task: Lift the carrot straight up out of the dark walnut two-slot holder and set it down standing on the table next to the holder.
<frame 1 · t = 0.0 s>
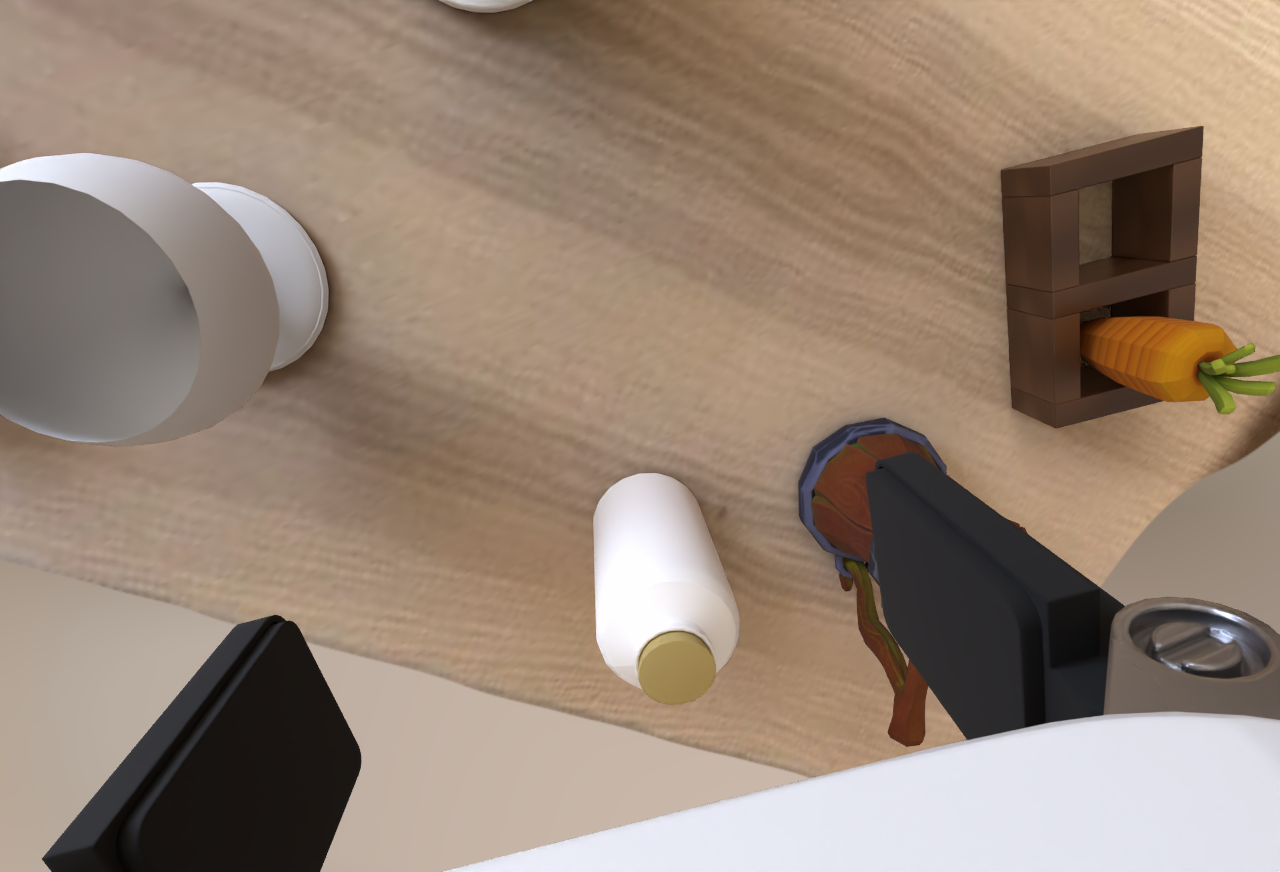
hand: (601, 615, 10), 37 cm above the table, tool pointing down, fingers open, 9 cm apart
carrot: (1070, 332, 49), resting in holder
mug: (853, 521, 53), on the table
white bottle: (646, 516, 51), on the table
holder: (1071, 279, 47), on the table
chalice: (235, 281, 43), on the table
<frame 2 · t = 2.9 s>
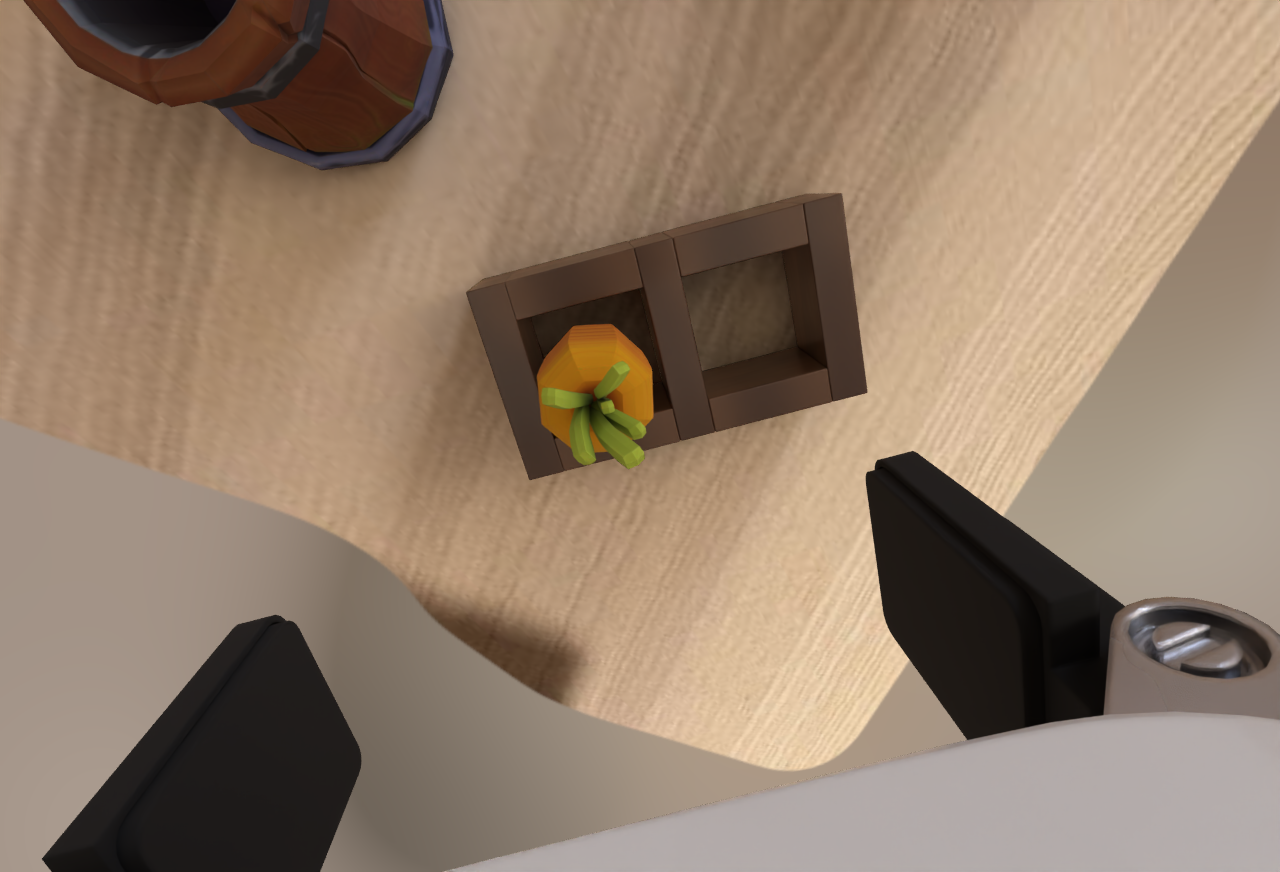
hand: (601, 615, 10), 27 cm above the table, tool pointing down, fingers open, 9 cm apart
carrot: (594, 343, 36), resting in holder
mug: (255, 26, 30), on the table
holder: (665, 325, 36), on the table
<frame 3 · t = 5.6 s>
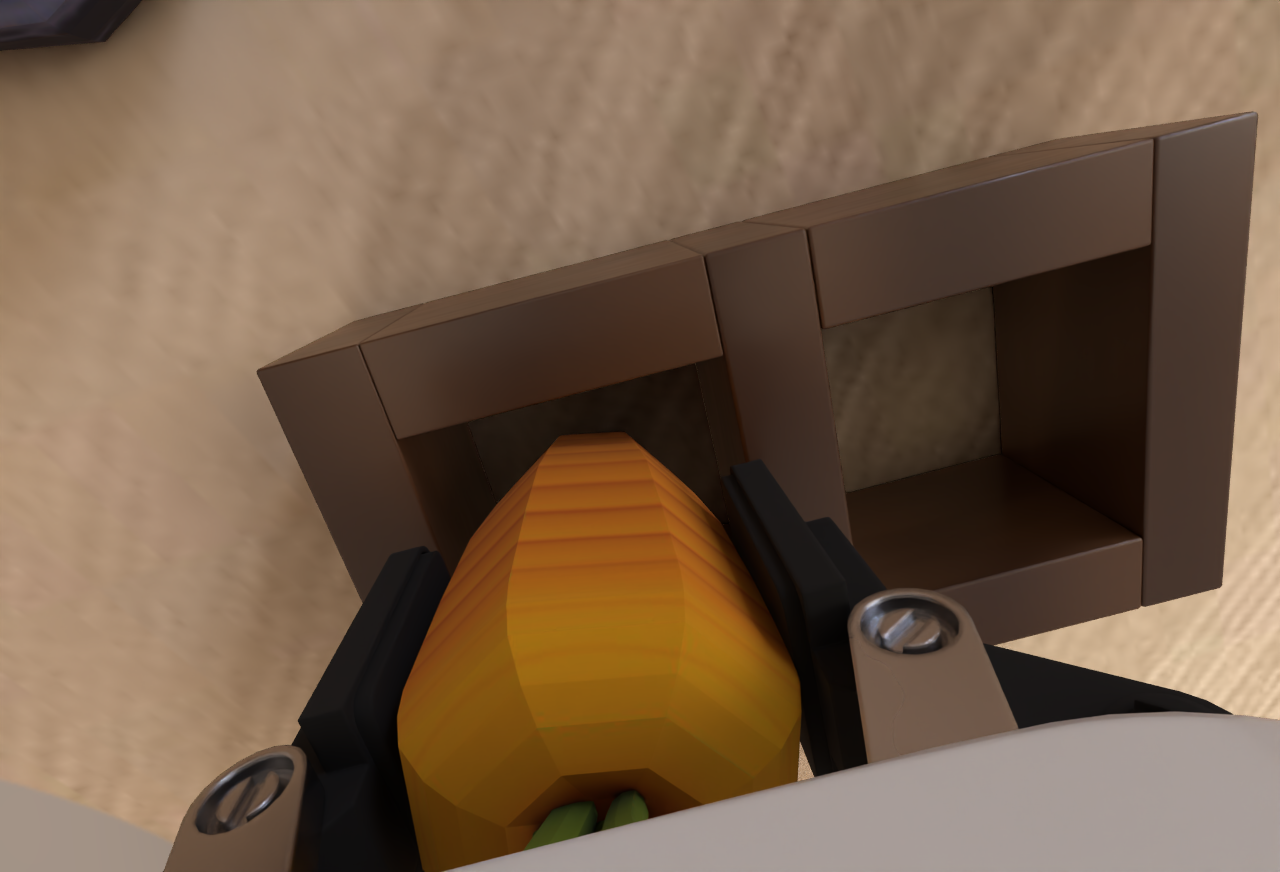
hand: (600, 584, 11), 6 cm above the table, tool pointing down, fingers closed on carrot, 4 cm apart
carrot: (594, 450, 18), resting in holder, touching gripper
holder: (741, 415, 17), on the table
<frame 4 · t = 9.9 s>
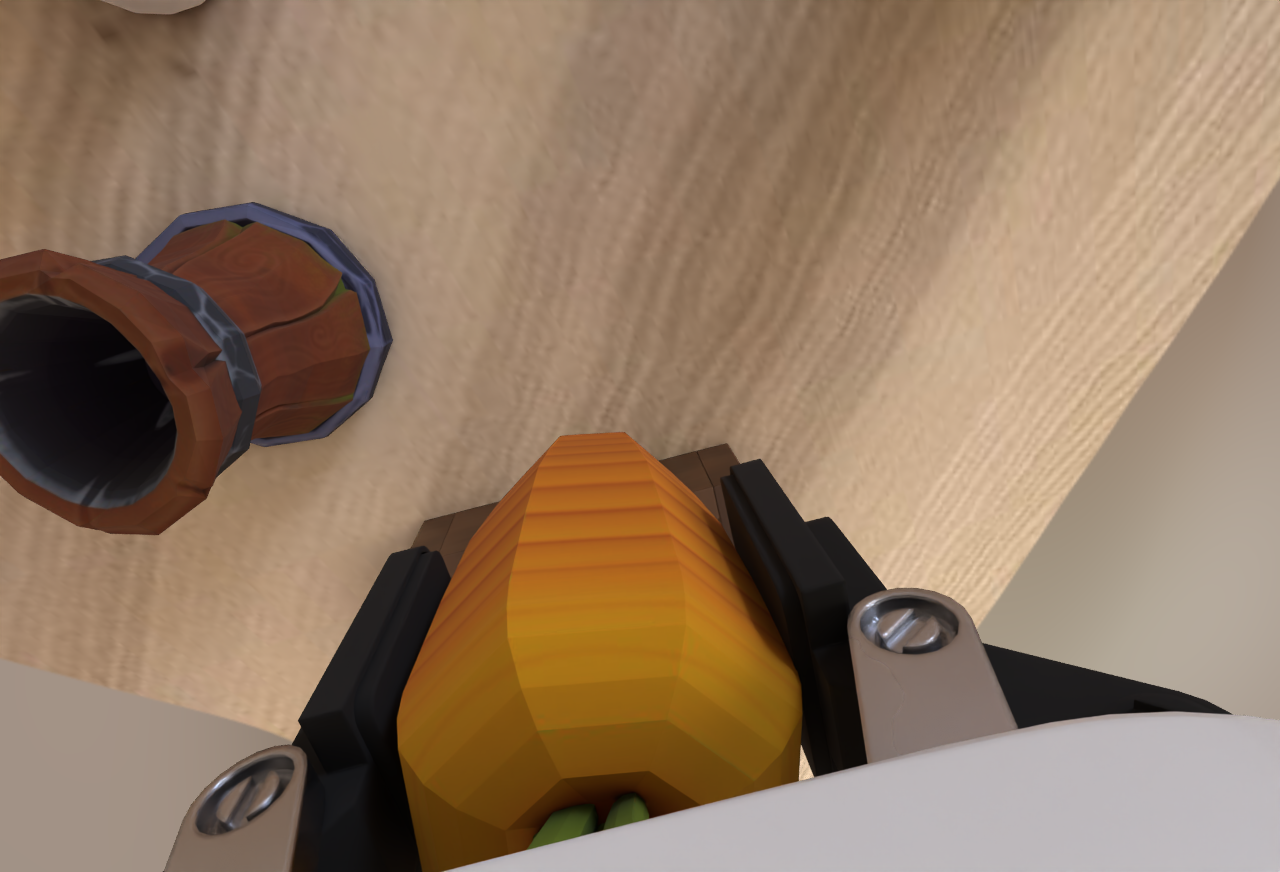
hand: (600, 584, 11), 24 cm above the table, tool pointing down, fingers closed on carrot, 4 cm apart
carrot: (594, 451, 18), point 17 cm above the table, touching gripper
mug: (208, 317, 32), on the table
holder: (598, 555, 38), on the table
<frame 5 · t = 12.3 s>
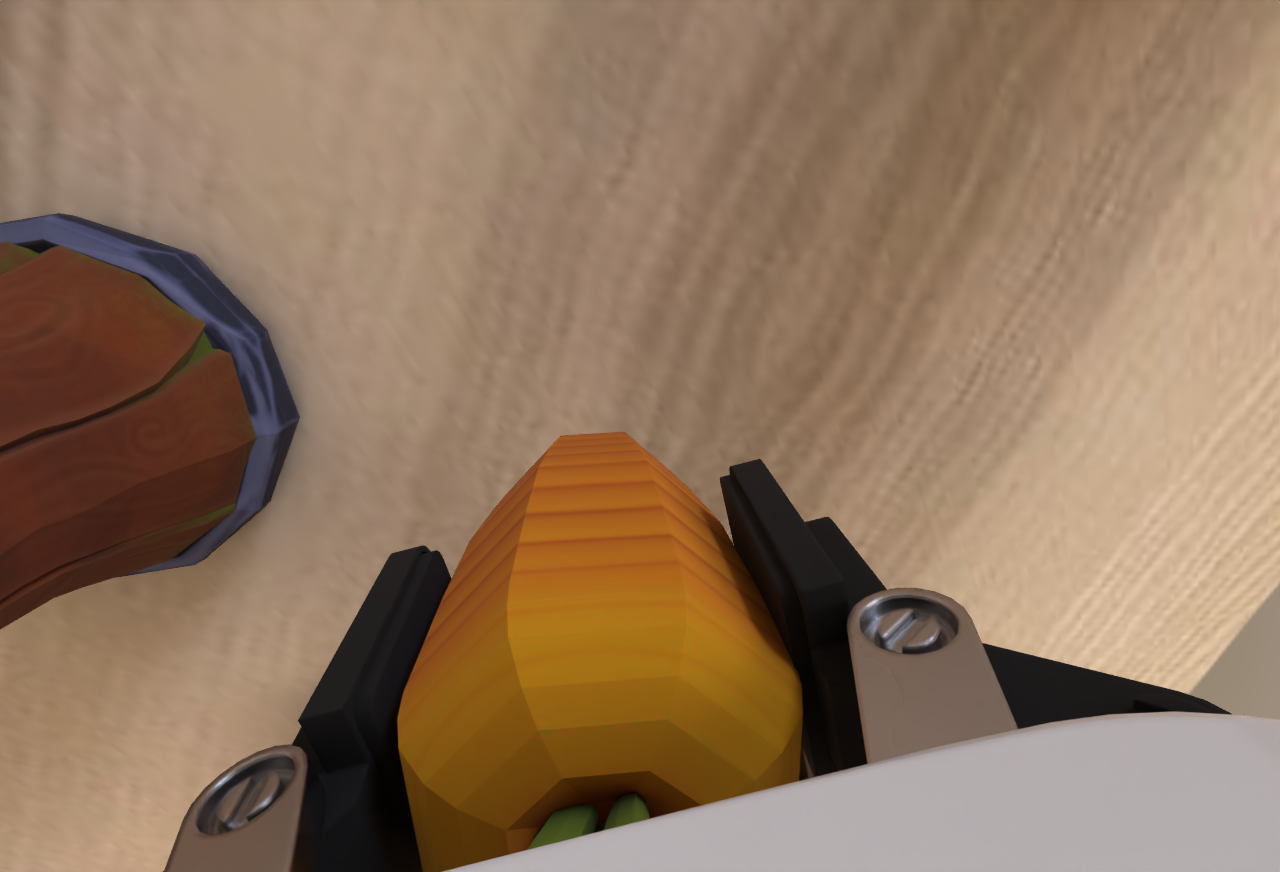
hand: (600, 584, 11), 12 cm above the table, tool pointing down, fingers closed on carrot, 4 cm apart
carrot: (594, 451, 18), point 6 cm above the table, touching gripper
mug: (20, 384, 21), on the table
when the fingers open (6 cm above the table, at t = 14.1 s): carrot stays where it is, on the table.
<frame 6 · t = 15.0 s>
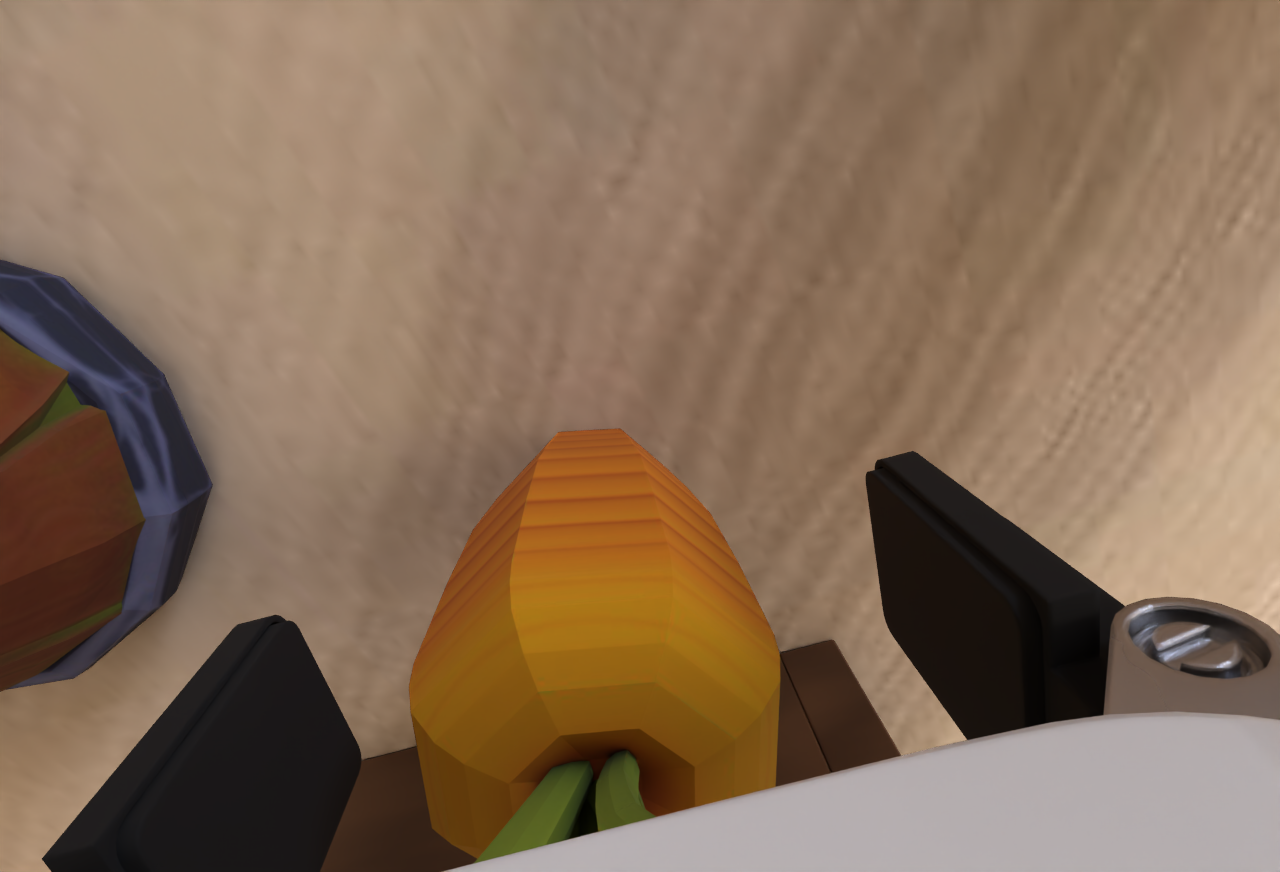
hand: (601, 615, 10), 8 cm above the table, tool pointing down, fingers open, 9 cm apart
carrot: (591, 447, 18), on the table
holder: (605, 816, 22), on the table
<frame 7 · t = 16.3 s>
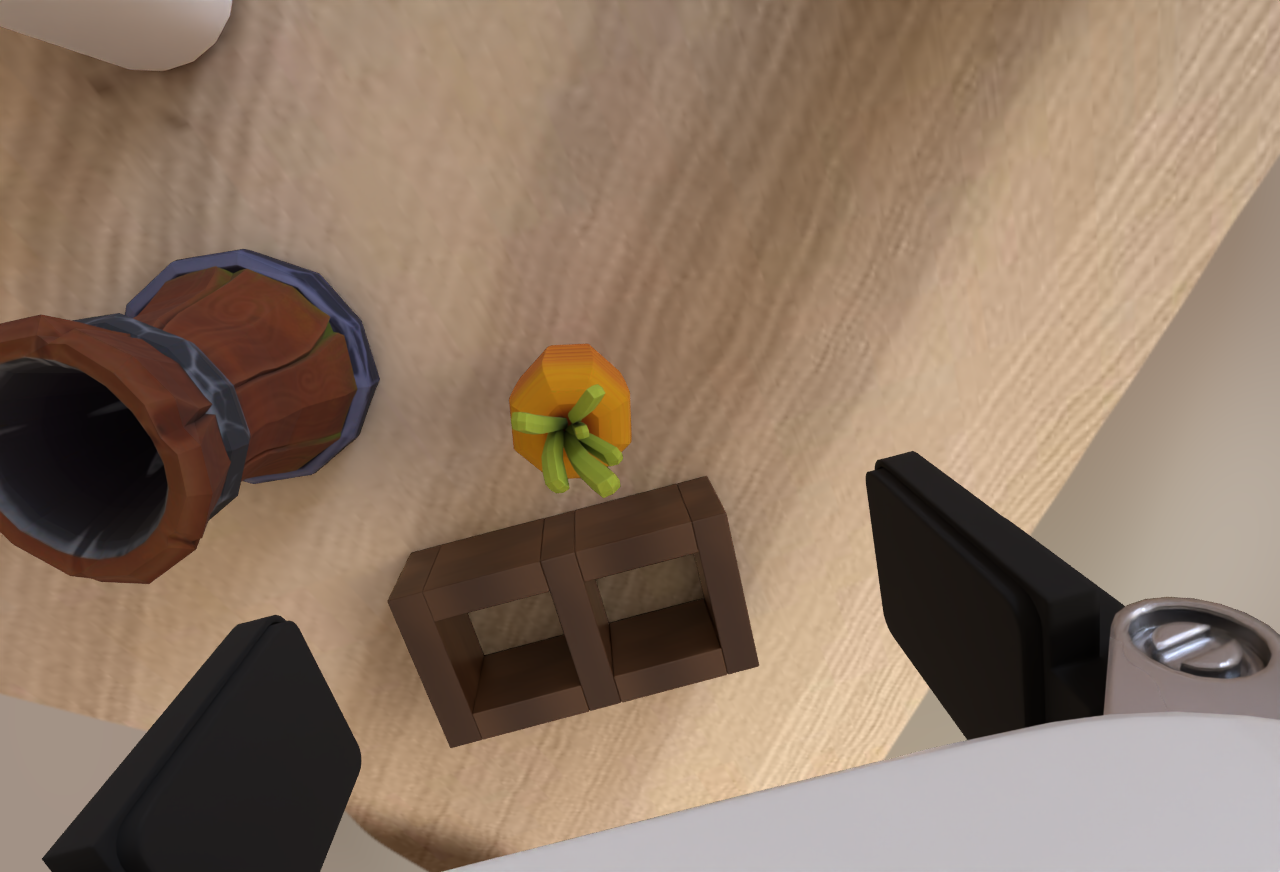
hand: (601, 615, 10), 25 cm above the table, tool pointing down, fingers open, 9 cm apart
carrot: (572, 363, 35), on the table
mug: (198, 357, 33), on the table
holder: (581, 584, 39), on the table
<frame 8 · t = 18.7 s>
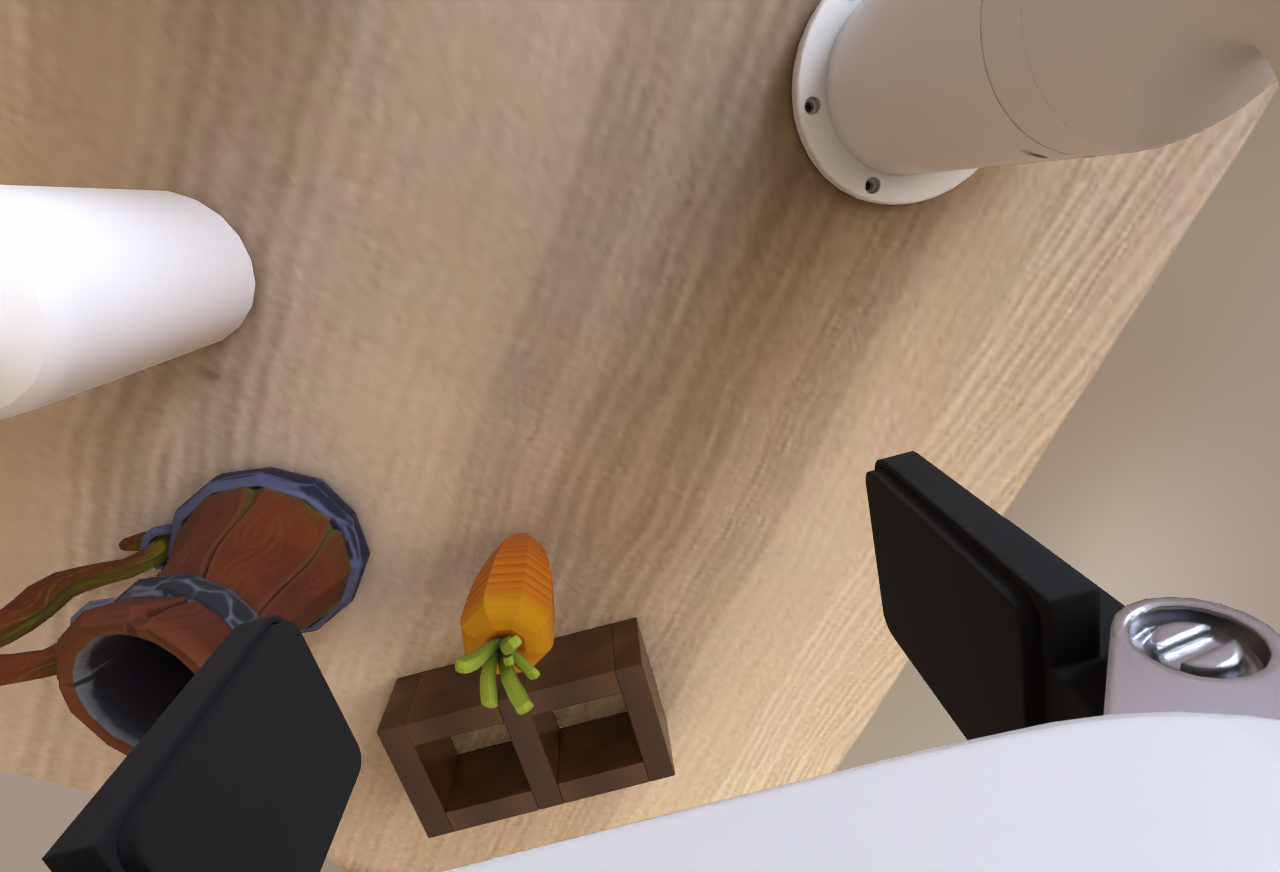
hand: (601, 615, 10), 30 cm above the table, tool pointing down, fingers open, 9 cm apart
carrot: (524, 536, 44), on the table
mug: (228, 538, 42), on the table
white bottle: (185, 269, 37), on the table
holder: (536, 700, 48), on the table
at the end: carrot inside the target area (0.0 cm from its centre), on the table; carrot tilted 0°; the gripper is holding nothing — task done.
